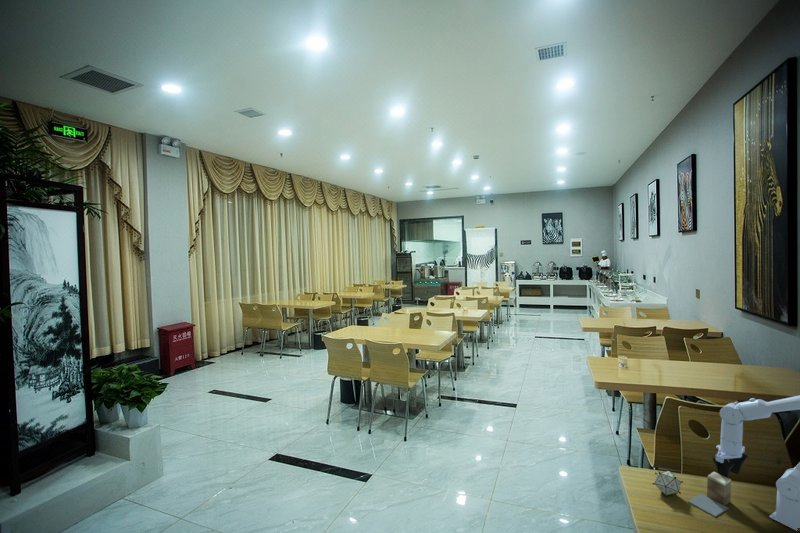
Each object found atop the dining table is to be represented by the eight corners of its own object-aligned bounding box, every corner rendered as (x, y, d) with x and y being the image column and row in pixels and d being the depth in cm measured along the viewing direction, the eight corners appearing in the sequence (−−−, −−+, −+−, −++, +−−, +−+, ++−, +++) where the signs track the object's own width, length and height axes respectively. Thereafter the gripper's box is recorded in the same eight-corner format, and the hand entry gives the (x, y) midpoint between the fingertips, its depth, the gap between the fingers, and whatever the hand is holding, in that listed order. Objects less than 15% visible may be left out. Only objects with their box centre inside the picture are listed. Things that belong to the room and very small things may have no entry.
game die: (673, 506, 139) (692, 495, 133) (648, 495, 141) (665, 484, 134) (669, 481, 146) (686, 469, 140) (645, 471, 147) (661, 459, 141)
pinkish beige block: (730, 501, 136) (731, 479, 135) (724, 505, 134) (724, 483, 133) (713, 492, 140) (713, 471, 139) (707, 497, 138) (707, 475, 137)
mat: (728, 509, 132) (728, 507, 132) (715, 517, 129) (715, 516, 129) (701, 494, 139) (701, 493, 139) (688, 502, 136) (688, 501, 136)
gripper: (728, 428, 145) (726, 464, 146) (706, 438, 138) (704, 475, 139) (752, 437, 138) (750, 474, 140) (730, 448, 132) (728, 487, 133)
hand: (729, 476), depth 139 cm, fingers open, 7 cm apart
